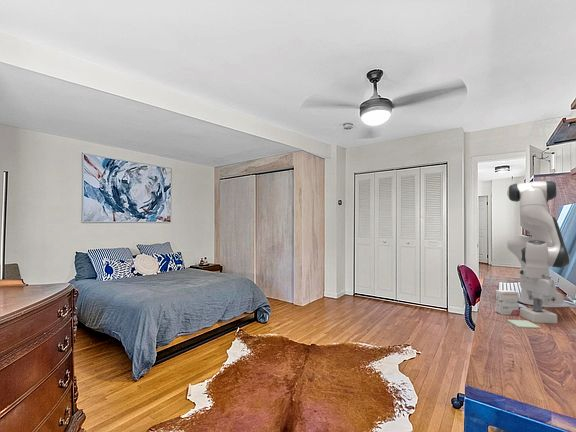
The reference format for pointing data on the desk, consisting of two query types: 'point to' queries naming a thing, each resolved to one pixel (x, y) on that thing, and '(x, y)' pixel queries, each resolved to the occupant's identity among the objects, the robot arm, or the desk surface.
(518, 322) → the mat
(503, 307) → the ink box
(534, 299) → the plug
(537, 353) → the desk surface
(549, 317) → the white square frame block
